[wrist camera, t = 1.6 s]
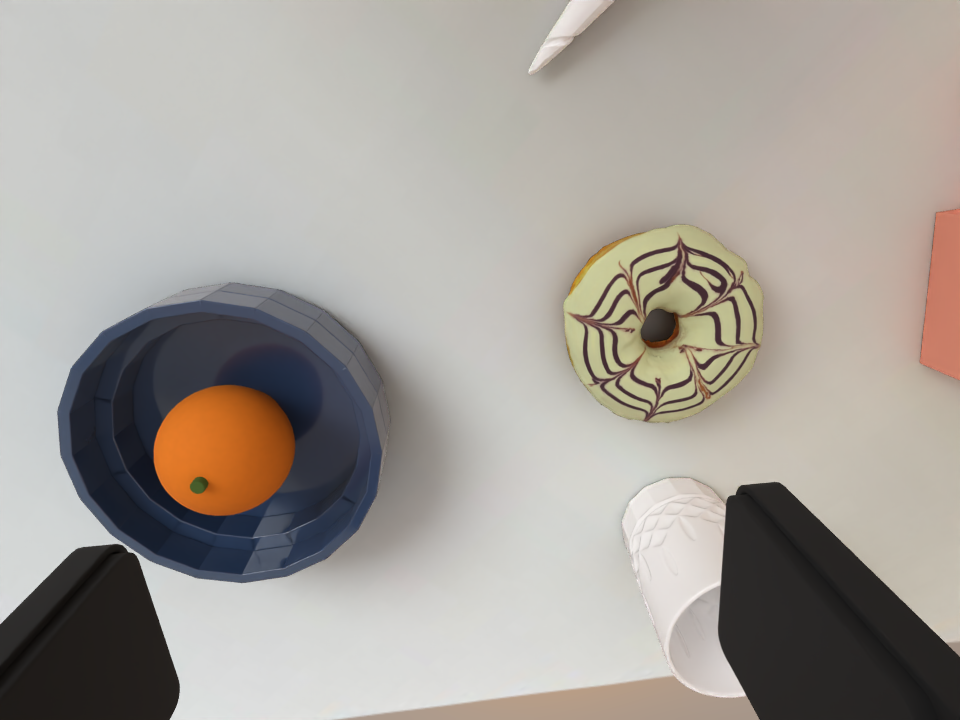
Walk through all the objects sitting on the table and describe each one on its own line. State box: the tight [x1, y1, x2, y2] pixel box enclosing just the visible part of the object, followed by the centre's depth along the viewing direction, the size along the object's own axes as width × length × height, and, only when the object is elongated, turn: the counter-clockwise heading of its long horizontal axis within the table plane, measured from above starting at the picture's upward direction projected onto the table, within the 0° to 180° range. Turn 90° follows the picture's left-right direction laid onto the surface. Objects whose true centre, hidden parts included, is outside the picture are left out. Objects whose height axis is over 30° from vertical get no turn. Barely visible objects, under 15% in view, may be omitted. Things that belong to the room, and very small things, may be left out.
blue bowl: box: [57, 283, 390, 583], centre depth 32 cm, size 16×16×5 cm
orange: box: [154, 385, 295, 516], centre depth 30 cm, size 7×7×7 cm
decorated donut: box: [563, 225, 764, 423], centre depth 31 cm, size 10×11×4 cm
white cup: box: [621, 478, 746, 698], centre depth 33 cm, size 8×8×10 cm
